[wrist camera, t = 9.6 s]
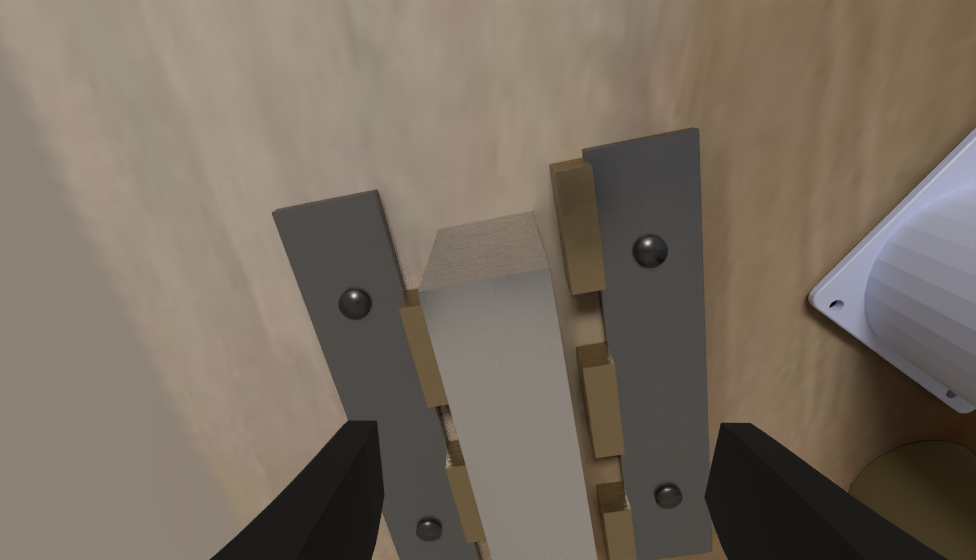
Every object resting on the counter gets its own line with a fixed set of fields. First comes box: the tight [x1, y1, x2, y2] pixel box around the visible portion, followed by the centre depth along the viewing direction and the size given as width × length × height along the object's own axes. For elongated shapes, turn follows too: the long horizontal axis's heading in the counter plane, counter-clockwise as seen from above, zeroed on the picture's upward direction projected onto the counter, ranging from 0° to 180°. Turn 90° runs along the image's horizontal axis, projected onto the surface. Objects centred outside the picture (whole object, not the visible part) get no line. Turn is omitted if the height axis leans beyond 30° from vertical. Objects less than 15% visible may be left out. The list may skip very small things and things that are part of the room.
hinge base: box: [272, 128, 712, 560], centre depth 20 cm, size 15×20×2 cm
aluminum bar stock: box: [418, 211, 597, 560], centre depth 19 cm, size 4×16×6 cm, turn 11°
